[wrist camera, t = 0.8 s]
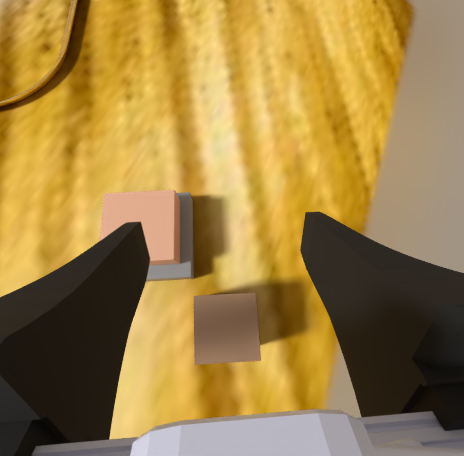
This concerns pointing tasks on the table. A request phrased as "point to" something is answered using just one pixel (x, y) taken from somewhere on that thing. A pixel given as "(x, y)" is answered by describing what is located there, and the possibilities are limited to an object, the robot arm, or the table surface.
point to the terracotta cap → (147, 220)
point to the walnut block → (226, 328)
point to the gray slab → (186, 247)
